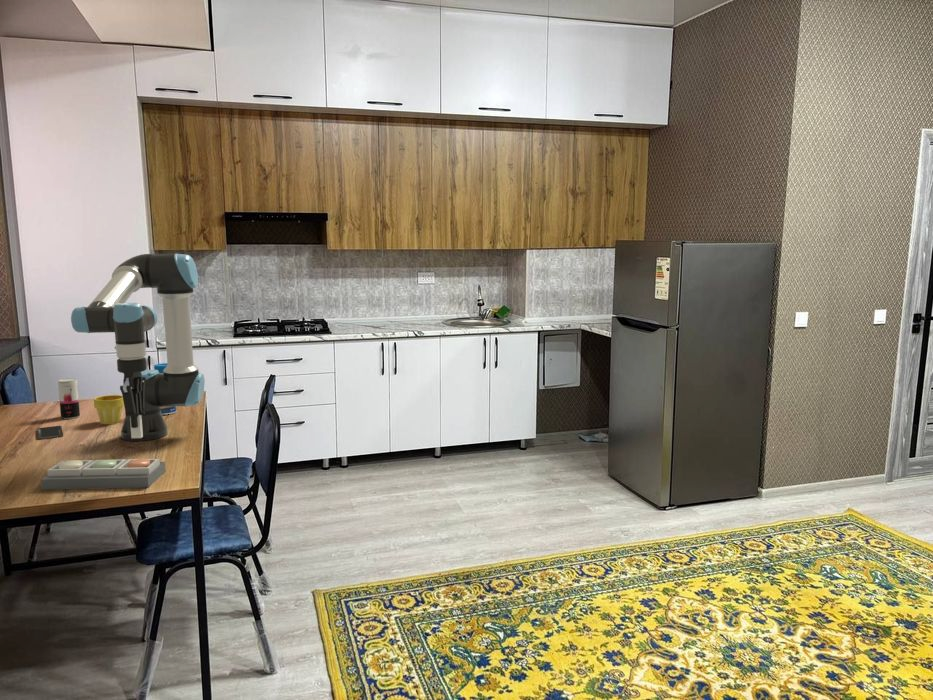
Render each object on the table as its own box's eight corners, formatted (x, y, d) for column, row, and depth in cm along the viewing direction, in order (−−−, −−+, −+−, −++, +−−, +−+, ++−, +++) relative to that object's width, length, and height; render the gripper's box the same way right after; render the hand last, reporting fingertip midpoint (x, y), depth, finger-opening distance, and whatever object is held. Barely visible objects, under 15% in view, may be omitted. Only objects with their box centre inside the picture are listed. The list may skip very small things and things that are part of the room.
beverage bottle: (180, 410, 288) (177, 362, 285) (172, 415, 279) (169, 366, 276) (159, 410, 287) (156, 362, 284) (151, 415, 279) (148, 366, 276)
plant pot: (130, 418, 274) (128, 394, 272) (118, 425, 263) (116, 400, 262) (103, 418, 273) (101, 394, 272) (90, 425, 263) (88, 400, 262)
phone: (37, 437, 244) (37, 428, 256) (37, 441, 244) (37, 431, 257) (63, 434, 248) (61, 425, 261) (63, 437, 248) (62, 428, 261)
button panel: (66, 473, 209) (64, 457, 208) (165, 471, 211) (164, 456, 211) (41, 489, 195) (40, 473, 195) (148, 487, 198) (147, 471, 197)
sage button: (99, 465, 206) (98, 459, 205) (120, 465, 206) (119, 459, 206) (89, 472, 200) (89, 466, 199) (111, 471, 200) (111, 465, 200)
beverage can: (72, 419, 272) (69, 381, 270) (57, 418, 273) (53, 381, 271) (83, 415, 278) (80, 378, 276) (69, 414, 279) (65, 378, 277)
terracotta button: (132, 465, 206) (132, 459, 206) (153, 464, 207) (152, 458, 207) (124, 471, 200) (123, 465, 200) (145, 471, 201) (145, 465, 201)
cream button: (65, 466, 205) (65, 460, 205) (86, 465, 205) (86, 460, 205) (55, 472, 199) (54, 466, 199) (77, 472, 199) (76, 466, 199)
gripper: (126, 353, 205) (132, 431, 209) (107, 361, 192) (114, 444, 196) (153, 353, 205) (158, 430, 209) (136, 361, 193) (142, 443, 196)
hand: (137, 437), depth 203 cm, fingers closed
